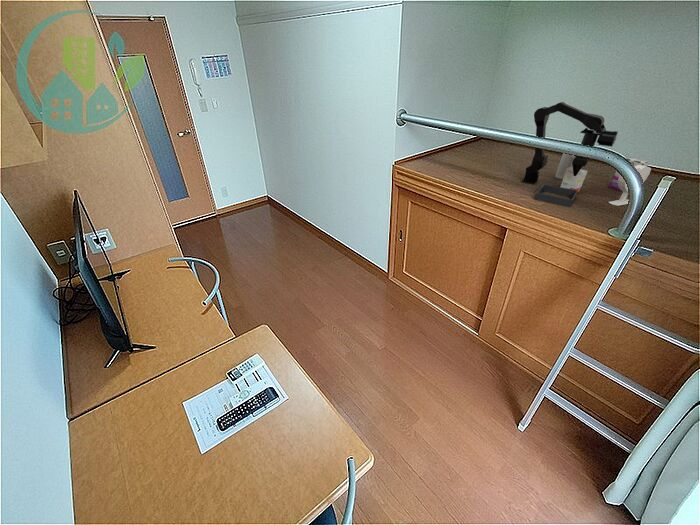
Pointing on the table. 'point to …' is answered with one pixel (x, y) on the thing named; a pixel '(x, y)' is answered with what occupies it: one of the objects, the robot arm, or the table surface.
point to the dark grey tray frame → (553, 198)
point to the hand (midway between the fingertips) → (576, 173)
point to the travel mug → (564, 165)
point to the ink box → (573, 179)
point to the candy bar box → (616, 176)
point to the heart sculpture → (622, 184)
